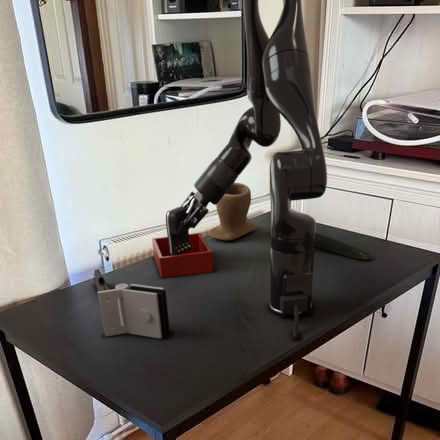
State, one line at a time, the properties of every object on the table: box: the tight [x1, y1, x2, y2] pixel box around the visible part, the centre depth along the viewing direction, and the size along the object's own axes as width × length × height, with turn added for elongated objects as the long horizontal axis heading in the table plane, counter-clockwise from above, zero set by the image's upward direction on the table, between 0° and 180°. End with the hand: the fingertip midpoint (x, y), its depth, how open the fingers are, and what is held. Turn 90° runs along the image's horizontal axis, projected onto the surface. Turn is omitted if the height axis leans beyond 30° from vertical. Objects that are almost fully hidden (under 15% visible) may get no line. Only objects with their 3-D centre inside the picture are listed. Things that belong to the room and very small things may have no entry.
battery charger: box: [165, 205, 192, 255], centre depth 146 cm, size 7×4×11 cm, turn 143°
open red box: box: [151, 232, 214, 279], centre depth 150 cm, size 16×14×5 cm
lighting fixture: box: [93, 268, 110, 302], centre depth 134 cm, size 19×3×4 cm, turn 22°
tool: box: [314, 232, 373, 261], centre depth 153 cm, size 28×6×7 cm, turn 47°
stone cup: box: [208, 182, 257, 242], centre depth 164 cm, size 15×12×15 cm
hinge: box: [97, 283, 171, 340], centre depth 118 cm, size 14×5×10 cm, turn 81°
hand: (174, 232), depth 146 cm, fingers closed on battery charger, 6 cm apart
